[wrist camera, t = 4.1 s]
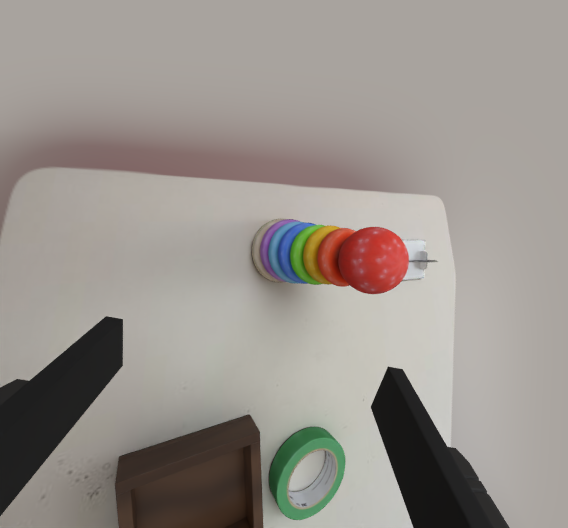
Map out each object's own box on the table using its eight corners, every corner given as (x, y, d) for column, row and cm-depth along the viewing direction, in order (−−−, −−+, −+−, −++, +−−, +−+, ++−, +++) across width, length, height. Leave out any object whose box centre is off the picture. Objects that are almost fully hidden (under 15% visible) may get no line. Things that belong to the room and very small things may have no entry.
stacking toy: (237, 262, 32) (330, 281, 16) (269, 207, 34) (385, 170, 17) (287, 291, 36) (407, 333, 19) (314, 240, 37) (448, 237, 20)
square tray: (119, 456, 28) (114, 483, 25) (249, 414, 34) (259, 431, 31) (129, 579, 29) (126, 620, 26) (253, 516, 36) (264, 543, 32)
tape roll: (343, 464, 42) (355, 477, 40) (286, 520, 38) (295, 538, 36) (320, 410, 39) (331, 421, 37) (256, 463, 35) (263, 479, 33)
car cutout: (422, 240, 47) (448, 239, 43) (421, 277, 48) (446, 280, 44) (356, 240, 40) (378, 239, 36) (355, 283, 41) (377, 288, 37)
